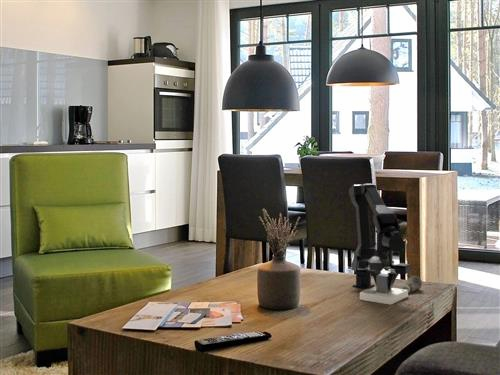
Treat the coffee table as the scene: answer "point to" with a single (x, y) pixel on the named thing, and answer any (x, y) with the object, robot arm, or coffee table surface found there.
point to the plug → (382, 283)
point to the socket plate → (383, 295)
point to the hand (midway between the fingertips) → (383, 289)
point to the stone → (413, 284)
